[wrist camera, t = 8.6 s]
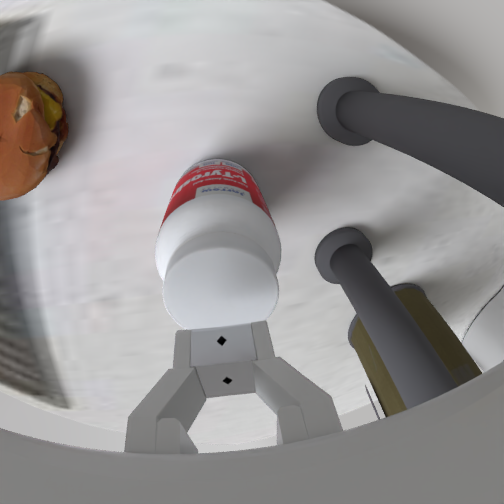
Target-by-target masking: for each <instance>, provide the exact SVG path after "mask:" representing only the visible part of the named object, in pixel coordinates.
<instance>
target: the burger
mask: <svg viewBox="0 0 504 504" xmlns="http://www.w3.org/2000/svg"><path fill="white" fill-rule="evenodd" d="M62 103H63V95H62V92H61V90H60V88H59V86H58V85H57V84H56V83H55V82H54V81H53V80H52V79H50V78H49V77H48V76H46V75H44V74H43V73H42V74H39V73H37V72H24V73H21V72H8V73H5V74H2V75H1V76H0V200H8V199H13V198H18V197H20V196H22V195H25V194H26V193H28V192H29V191H31V190H33V189H34V188H36V186H37V185H39V184H40V182H41V181H42V180H43V179H44V178H45V177H46V175H47V174H48V173H49V171H51V170H52V169H54V168H55V166H56V165H57V164H58V162H59V158H58V156H57V154H58V152H59V150H60V149H61V147H62V145H63V142H65V140H66V139H67V136H68V123H67V122H66V113H65V110H64V109H63V107H62Z"/></svg>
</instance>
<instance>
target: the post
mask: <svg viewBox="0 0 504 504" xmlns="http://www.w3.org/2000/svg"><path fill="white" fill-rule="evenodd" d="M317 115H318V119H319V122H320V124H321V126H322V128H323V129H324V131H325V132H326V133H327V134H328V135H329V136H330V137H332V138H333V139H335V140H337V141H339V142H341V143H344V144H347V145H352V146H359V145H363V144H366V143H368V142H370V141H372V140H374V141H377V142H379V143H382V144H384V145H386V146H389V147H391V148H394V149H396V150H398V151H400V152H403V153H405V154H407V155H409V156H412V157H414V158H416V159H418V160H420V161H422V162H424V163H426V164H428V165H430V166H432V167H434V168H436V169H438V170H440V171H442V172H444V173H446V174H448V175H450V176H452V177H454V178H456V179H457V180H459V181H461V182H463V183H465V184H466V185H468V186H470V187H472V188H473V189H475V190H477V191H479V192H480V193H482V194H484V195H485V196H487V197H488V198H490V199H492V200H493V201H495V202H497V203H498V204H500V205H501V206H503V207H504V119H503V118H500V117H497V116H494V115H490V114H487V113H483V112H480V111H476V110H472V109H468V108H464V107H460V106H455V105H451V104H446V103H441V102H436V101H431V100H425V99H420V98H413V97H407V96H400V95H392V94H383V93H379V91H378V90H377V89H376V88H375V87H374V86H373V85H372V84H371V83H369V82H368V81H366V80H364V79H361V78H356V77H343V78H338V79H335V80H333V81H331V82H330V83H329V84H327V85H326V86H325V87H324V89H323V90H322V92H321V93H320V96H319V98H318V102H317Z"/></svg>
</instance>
